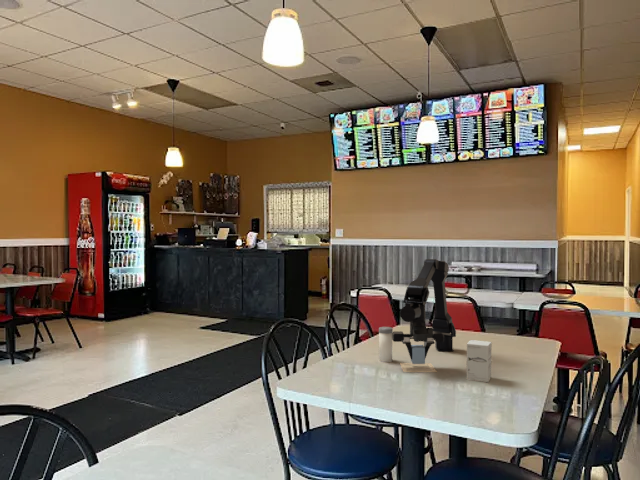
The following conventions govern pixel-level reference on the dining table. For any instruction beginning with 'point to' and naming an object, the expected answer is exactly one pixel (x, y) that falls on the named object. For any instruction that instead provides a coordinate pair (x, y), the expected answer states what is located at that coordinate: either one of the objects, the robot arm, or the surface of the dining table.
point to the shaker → (385, 344)
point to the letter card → (417, 367)
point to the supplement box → (479, 360)
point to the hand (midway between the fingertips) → (417, 359)
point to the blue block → (418, 354)
